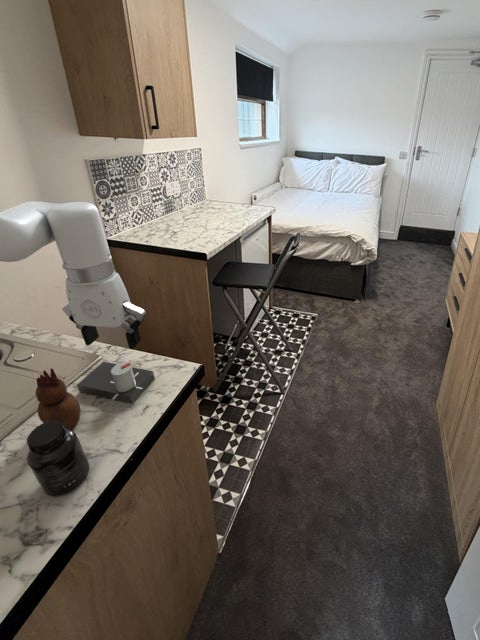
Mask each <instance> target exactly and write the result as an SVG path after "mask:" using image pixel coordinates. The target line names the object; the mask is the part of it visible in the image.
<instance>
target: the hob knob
mask: <svg viewBox="0 0 480 640" xmlns="http://www.w3.org/2000/svg"><path fill="white" fill-rule="evenodd" d="M116 364H117V365H115V366H114V367H113V368H112V370H111V374H112V377H113V380H114V383H115V386H116V390H117V391H119V392H126V391H129V390H131V389H132V388H133V387H134V386H135V384H136V381H135V377H134V373H133V370H132V367H133V366H132V364H131V362H127V361H125V362H124V361H123V362H119V363H116Z"/></svg>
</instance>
